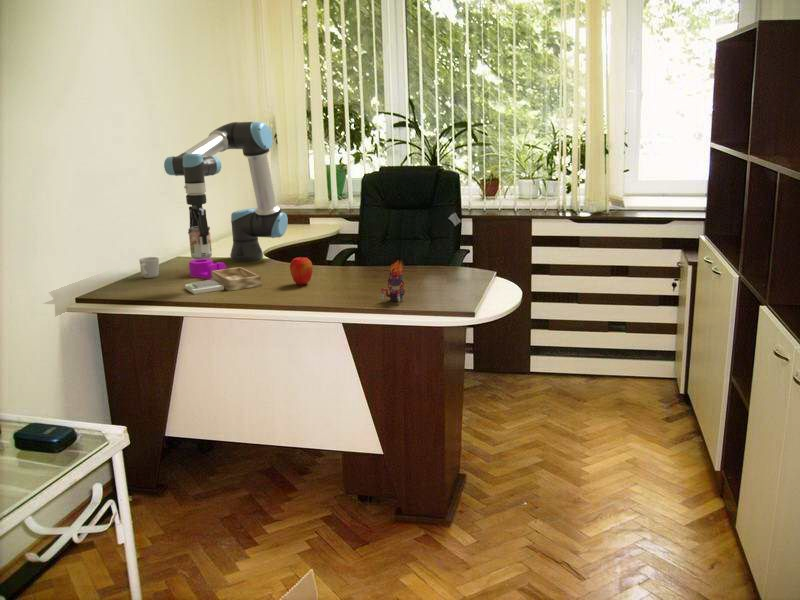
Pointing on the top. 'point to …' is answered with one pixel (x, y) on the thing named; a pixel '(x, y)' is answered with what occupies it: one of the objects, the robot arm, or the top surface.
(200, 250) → the beverage can
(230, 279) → the trough board
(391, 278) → the figurine
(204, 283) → the grey square pad
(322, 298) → the top surface
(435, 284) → the top surface
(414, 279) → the top surface
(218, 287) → the checker base
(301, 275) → the apple
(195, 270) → the magenta pipe bracket
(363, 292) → the top surface
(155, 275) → the cup
